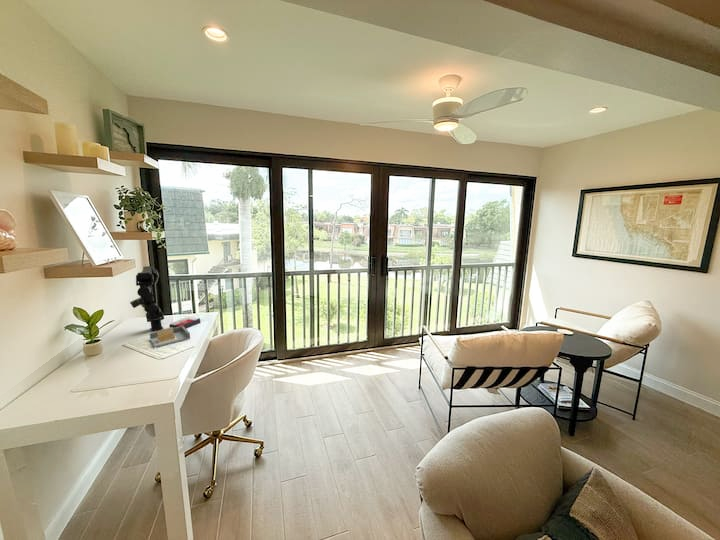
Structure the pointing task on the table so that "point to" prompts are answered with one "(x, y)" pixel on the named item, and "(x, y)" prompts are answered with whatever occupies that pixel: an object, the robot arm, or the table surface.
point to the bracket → (165, 335)
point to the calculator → (186, 322)
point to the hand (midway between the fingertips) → (150, 317)
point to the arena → (179, 334)
